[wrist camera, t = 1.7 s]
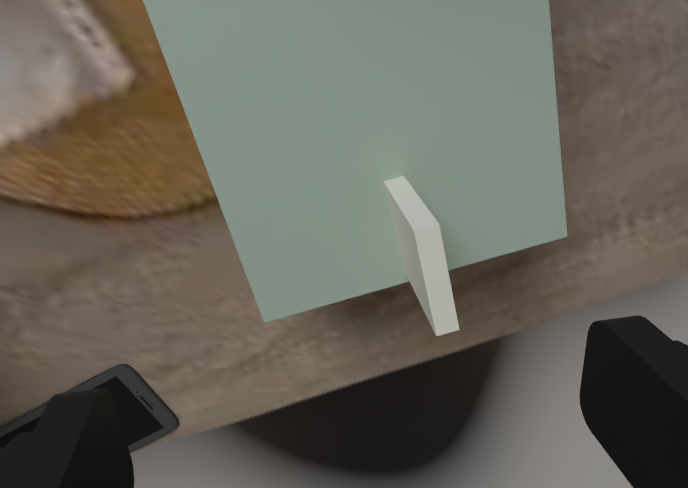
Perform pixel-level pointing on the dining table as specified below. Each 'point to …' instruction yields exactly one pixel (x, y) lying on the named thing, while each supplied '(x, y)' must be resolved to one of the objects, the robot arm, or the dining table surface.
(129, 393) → the cell phone
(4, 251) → the dining table surface
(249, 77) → the lid
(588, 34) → the dining table surface
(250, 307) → the dining table surface
